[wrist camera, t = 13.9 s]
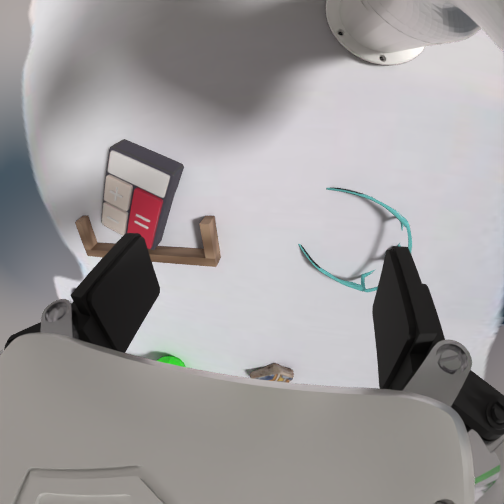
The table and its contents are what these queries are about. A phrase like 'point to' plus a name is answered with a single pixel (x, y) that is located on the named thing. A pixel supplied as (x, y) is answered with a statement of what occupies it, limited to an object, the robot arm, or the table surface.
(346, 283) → the teal safety glasses
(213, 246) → the holder
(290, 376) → the ceramic tile fragment
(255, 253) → the table surface
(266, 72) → the table surface
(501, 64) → the table surface
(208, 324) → the table surface
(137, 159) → the calculator
